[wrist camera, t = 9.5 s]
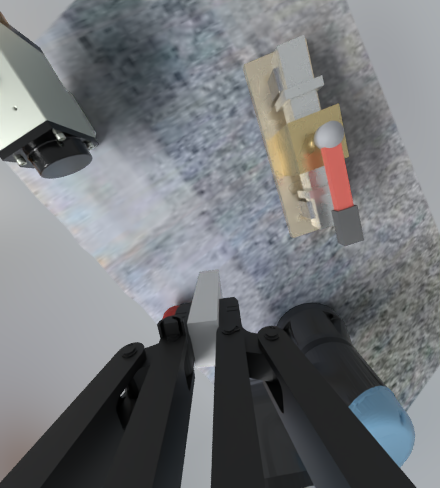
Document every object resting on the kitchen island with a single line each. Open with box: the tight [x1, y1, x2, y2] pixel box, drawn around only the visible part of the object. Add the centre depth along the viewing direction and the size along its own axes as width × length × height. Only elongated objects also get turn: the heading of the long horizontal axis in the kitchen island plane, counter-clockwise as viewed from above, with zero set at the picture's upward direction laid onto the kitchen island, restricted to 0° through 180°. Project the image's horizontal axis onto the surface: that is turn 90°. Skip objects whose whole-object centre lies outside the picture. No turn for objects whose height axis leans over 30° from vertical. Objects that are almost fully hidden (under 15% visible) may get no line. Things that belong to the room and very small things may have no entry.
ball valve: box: [0, 12, 99, 179], centre depth 29 cm, size 18×8×18 cm, turn 28°
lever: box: [314, 121, 364, 246], centre depth 29 cm, size 16×3×2 cm, turn 20°
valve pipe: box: [243, 35, 349, 238], centre depth 34 cm, size 30×10×11 cm, turn 20°
